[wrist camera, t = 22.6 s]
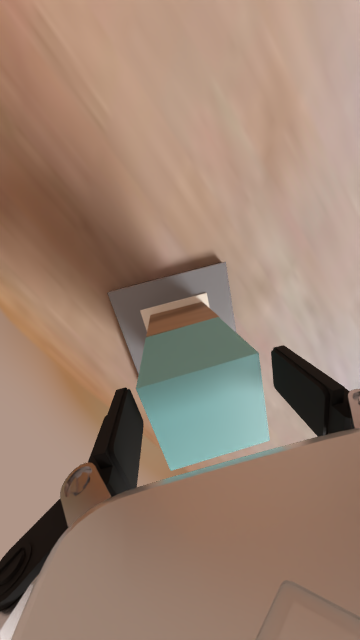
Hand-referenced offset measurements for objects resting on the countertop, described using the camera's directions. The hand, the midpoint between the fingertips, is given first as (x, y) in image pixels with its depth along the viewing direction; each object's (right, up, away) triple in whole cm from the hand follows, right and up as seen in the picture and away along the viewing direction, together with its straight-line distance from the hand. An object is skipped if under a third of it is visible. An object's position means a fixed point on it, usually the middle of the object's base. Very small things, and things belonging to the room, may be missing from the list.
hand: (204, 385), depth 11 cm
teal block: (-1, +1, +4) cm, 4 cm away
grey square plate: (-2, +3, +11) cm, 11 cm away
